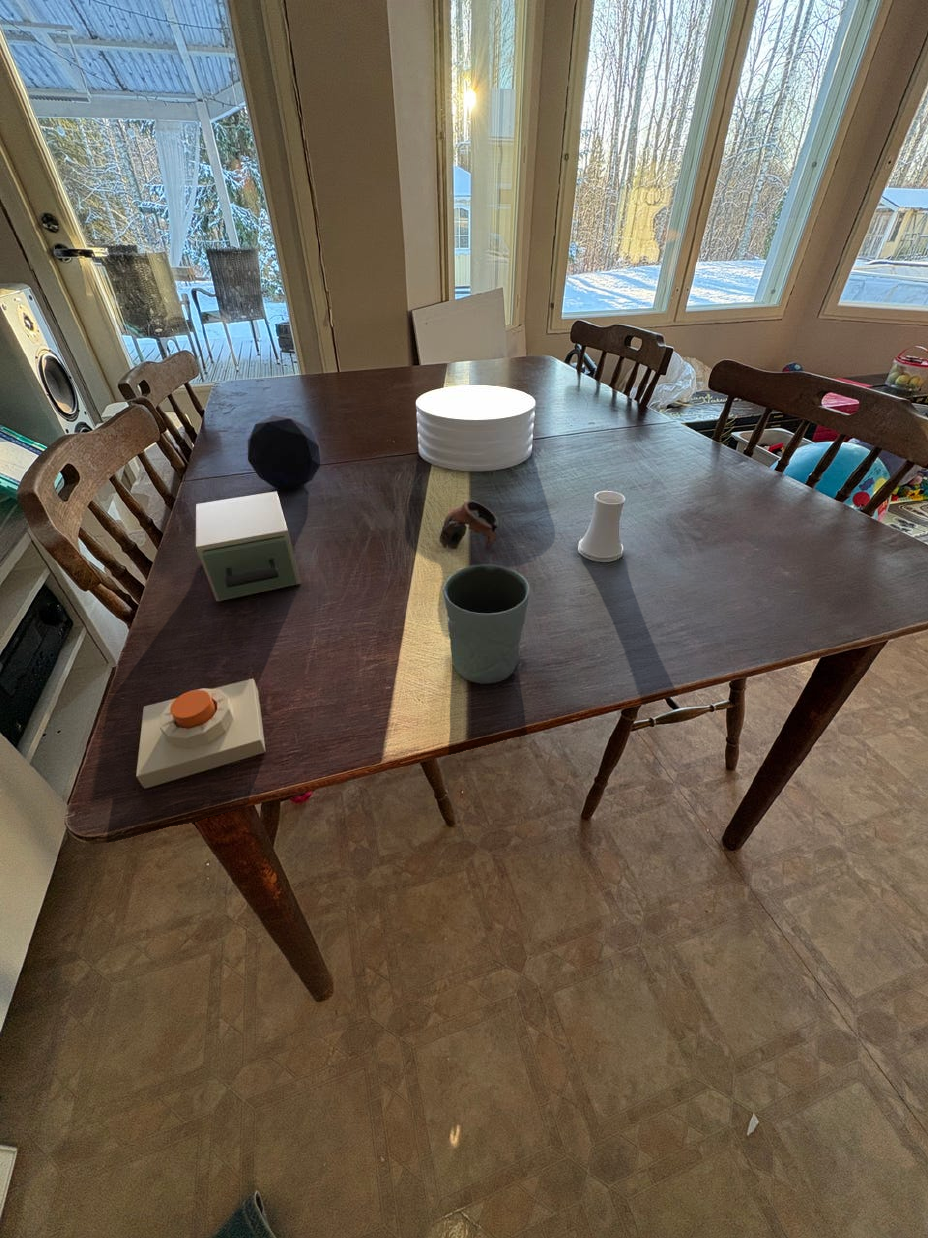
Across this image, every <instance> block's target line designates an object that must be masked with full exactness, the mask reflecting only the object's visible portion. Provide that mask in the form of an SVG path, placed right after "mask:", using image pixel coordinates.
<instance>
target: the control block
mask: <svg viewBox="0 0 928 1238" xmlns="http://www.w3.org/2000/svg"><path fill="white" fill-rule="evenodd" d="M258 689H259V688H258V686H257V685H256V681H255V679H254V678H253V677H252V678H249V679H246V680H242V681H237V682H234V683H233V682H232V683H229V684H226V685H221V686H218V687H214V688H207V687H205V688H199V689H198V690H203V691H206V692H208V693H209V694H210V696H211V698H212V701H213V703H214V705H215V708H216V709H215V713H214V715H213V717H212V718H211V719H210V720H209V721H207V722H206V723H204V724H203V725H201V726H197V727H194V728H190V729H186V728H182V727H180V726H178V724H177V723H176V721H175V719H174V717H173V716H172V714H171V711H170V708H171V705H172V703H173V702H174V700H175V699H176V698H173V699H168V700H165V701H160V702H157V703H153V704H149V705H145V706H143V709H142V710H143V711H142V718H141V719H142V720H141V731H140V737H139V740H140V741H139V748H138V756H137V765H136V772H135V773H136V775H135V778H136V779H137V780H138V781H139V783H140V784H141V786H142V787H143V789H144V790H146V789H149V788H153V787H155V786H159V785H162V784H165V783H169V782H172V781H176V780H178V779H182V778H185V777H189V776H192V775H195V774H198V773H203V772H205V771H208V770H212V769H214V768H215V769H216V768H219V767H222V766H226V765H228V764H231V763H235V762H239V761H242V760H244V759H249V758H252V757H255V756H258V755H261V754H265V753H266V744H265V736H264V726H263V721H262V719H263V718H262V711H261V704H260V696H259V690H258Z"/></svg>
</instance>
